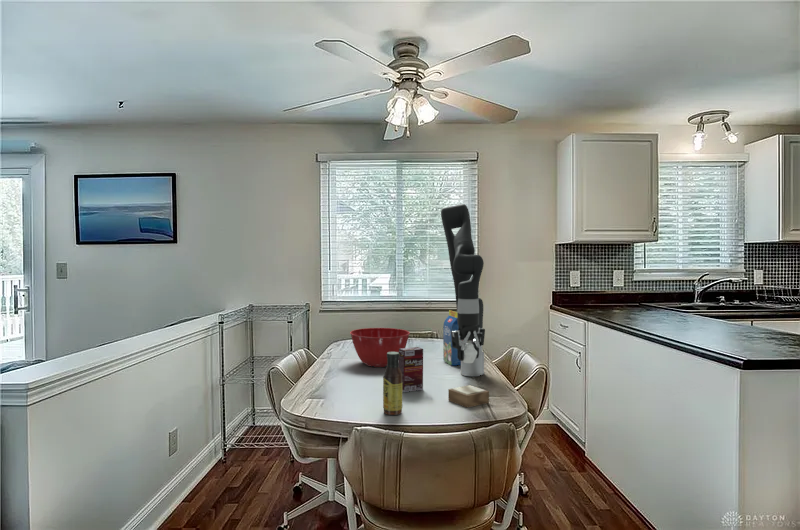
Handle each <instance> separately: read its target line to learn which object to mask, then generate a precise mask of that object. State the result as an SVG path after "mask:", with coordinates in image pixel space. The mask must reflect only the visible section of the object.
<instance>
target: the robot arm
mask: <svg viewBox="0 0 800 530" xmlns="http://www.w3.org/2000/svg"><path fill="white" fill-rule="evenodd" d="M470 216H471V215H470V211H469V208H468V206H467V205H466V204H465V203H460V204H459V203H458V204H454V205H448V206H443V207H442V208H441V210H440V218H441V223H442V226H443V231H444V235H445V239H446V245H447V250H448V256H449V264H450V270H451V274H452V279H453V285H454V293H455V294H454V295H455V304H456V305H455V306H456V312H457V321H458V325H459V328H458V330H457V331H451V338H452V347H453V348H456V349H457V354H458V356H457V357H458V360H460V361H461V365H460V375H462V376H465V377H481V376H482V375H484V374H485V352H484V351H483V346H484V343H485V337H486V336H485V334H486V329H485V328H483V326H484V301H483V299H482V298H481V297H479V288H480V287H479V284H480V279H481V277H482V272H483V271H484V270H483V269H484V259H483V257H482V256H481V255H479V254H475V251H476V249H475V247H474V242H473V241H474V240H473V237H472V223H471V217H470ZM453 229H458V231H457V232H456V234H454V232H453ZM459 335H460V336H459ZM466 343H471V344H473V346H474V348H475V350H476V351H477V355H476V358H475V360H474V362H473V363H464V362H463V360H464V350H463V349H464V346H465V344H466ZM480 375H481V376H480Z"/></svg>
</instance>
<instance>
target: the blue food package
mask: <svg viewBox="0 0 800 530" xmlns="http://www.w3.org/2000/svg"><path fill="white" fill-rule="evenodd" d="M442 327H443V333H442V334H443V336H442V337H443V340H442V341H443V342H442V343H443V346H442V347H443V351H442V352H443V355H442V356H443V358H442V359H443V361H444V363H446V364H448V365H450V366H451V367H453V366H457V365H459V366H461V361H460V360H458V357H457V356H458V354H457V349H456V348H453V347H452V338H451V331H457V330H458V328H459V325H458V321H457V311H453V310H451V309H449V310H448V316H447V317H446V318H445V319H444V322H443V326H442ZM459 336H460V335H459Z"/></svg>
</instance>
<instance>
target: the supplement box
mask: <svg viewBox="0 0 800 530" xmlns="http://www.w3.org/2000/svg"><path fill="white" fill-rule="evenodd" d="M399 368H400V370H401V372H402V393H407V392H409V391H410V392H416V390H417V391H423V390H424V349H423V348H421V347H419V346H416V347H405V348H402V349H399ZM410 392H409V393H410Z"/></svg>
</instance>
